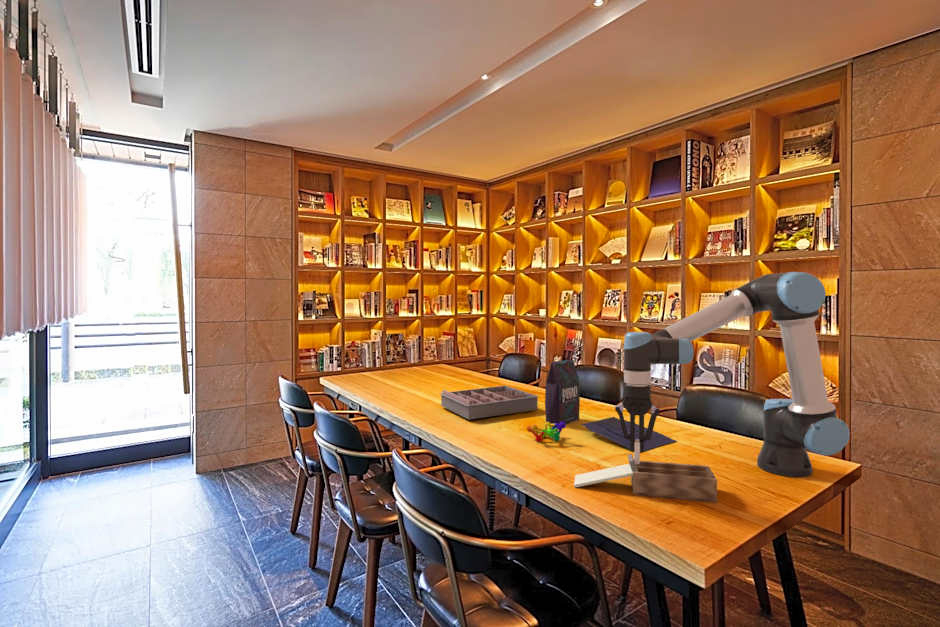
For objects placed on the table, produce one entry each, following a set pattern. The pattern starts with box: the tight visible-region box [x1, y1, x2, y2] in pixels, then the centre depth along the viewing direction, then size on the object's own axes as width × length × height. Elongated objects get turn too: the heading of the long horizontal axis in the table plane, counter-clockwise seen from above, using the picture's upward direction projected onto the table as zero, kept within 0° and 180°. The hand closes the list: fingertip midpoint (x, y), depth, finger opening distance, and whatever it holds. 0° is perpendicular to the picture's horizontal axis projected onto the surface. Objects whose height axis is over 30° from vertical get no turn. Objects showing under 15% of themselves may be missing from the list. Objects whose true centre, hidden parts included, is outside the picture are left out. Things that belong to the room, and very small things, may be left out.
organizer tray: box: [439, 385, 540, 420], centre depth 241 cm, size 32×40×10 cm
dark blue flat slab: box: [580, 416, 677, 452], centre depth 192 cm, size 24×30×4 cm
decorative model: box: [526, 421, 567, 443], centre depth 190 cm, size 13×9×15 cm
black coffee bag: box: [544, 358, 581, 425], centre depth 217 cm, size 8×16×28 cm, turn 133°
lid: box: [573, 453, 638, 488], centre depth 145 cm, size 19×8×4 cm, turn 74°
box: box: [630, 460, 718, 504], centre depth 140 cm, size 22×11×6 cm, turn 75°
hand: (636, 462), depth 143 cm, fingers closed
